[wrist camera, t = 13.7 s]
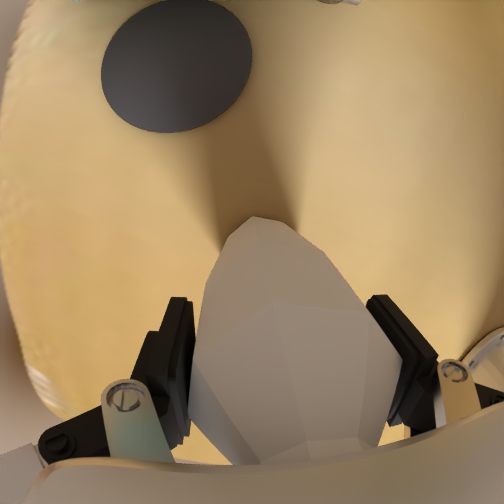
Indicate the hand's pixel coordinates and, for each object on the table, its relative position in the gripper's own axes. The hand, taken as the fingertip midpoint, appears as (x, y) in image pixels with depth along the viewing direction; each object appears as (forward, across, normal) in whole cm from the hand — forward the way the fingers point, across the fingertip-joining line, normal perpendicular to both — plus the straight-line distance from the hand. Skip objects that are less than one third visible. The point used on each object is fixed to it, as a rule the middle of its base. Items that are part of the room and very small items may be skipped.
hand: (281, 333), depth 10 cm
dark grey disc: (+8, +6, -12) cm, 15 cm away
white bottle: (+8, 0, 0) cm, 8 cm away
